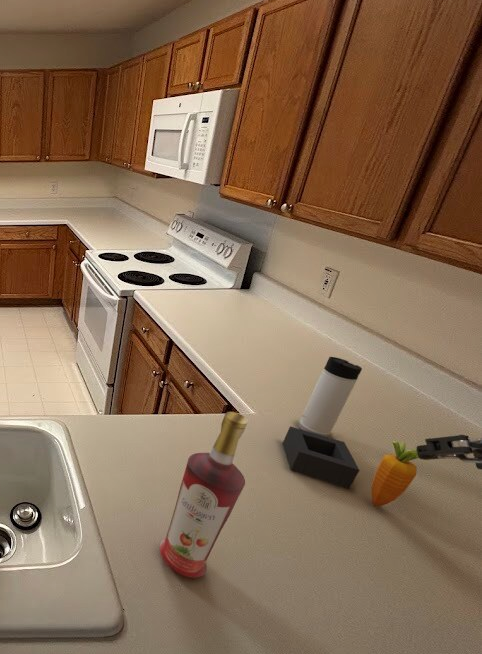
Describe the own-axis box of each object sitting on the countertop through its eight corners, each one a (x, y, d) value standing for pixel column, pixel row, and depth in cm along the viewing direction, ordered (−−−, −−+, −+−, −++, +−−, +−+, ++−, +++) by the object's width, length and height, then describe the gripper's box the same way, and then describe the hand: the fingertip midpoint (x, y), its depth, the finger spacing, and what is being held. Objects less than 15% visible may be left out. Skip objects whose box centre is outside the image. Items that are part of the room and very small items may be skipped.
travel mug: (291, 424, 105) (322, 355, 97) (309, 421, 107) (341, 353, 99) (316, 440, 99) (351, 368, 92) (334, 436, 101) (370, 366, 94)
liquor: (212, 564, 66) (274, 420, 55) (195, 594, 61) (260, 443, 50) (167, 534, 70) (216, 396, 60) (148, 559, 66) (198, 414, 55)
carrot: (353, 498, 82) (387, 438, 76) (368, 493, 84) (402, 433, 78) (383, 518, 78) (421, 456, 72) (398, 512, 80) (436, 451, 74)
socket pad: (335, 459, 93) (344, 441, 91) (349, 489, 84) (359, 470, 83) (282, 443, 97) (290, 426, 95) (290, 470, 88) (299, 451, 87)
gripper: (620, 428, 55) (490, 443, 69) (496, 410, 57) (395, 427, 71) (645, 488, 52) (503, 490, 67) (513, 466, 54) (405, 472, 69)
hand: (448, 457), depth 69 cm, fingers open, 8 cm apart
